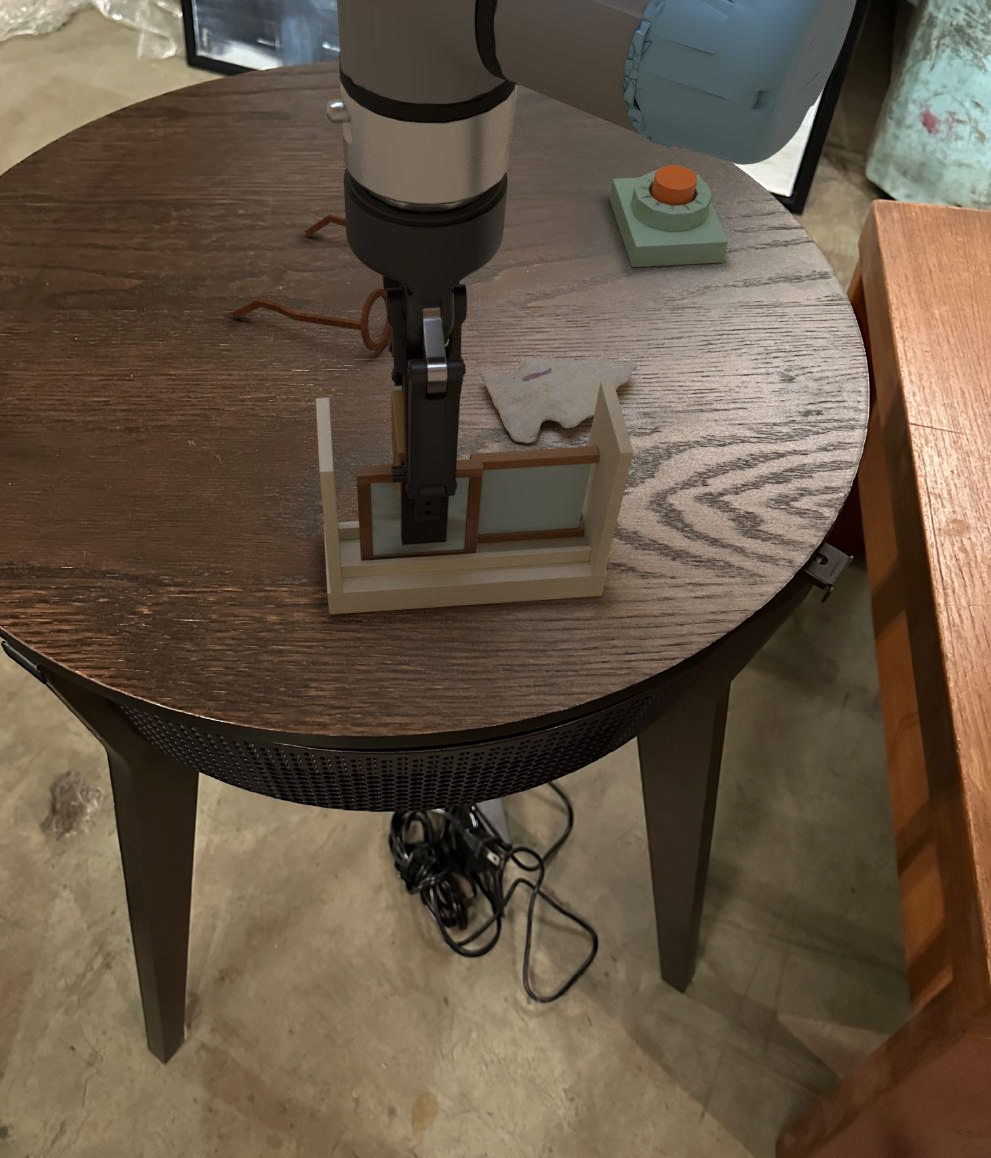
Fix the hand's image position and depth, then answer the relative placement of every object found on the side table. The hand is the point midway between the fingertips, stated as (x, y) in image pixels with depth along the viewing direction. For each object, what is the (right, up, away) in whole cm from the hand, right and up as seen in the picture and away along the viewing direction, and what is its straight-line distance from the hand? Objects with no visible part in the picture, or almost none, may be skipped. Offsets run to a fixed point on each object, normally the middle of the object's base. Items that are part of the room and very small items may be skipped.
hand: (419, 502), depth 69 cm
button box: (+22, +26, +30) cm, 46 cm away
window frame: (+3, -4, +7) cm, 9 cm away
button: (+22, +29, +27) cm, 45 cm away
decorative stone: (+12, +9, +17) cm, 23 cm away
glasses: (-6, +19, +25) cm, 32 cm away
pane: (0, -3, +4) cm, 5 cm away
